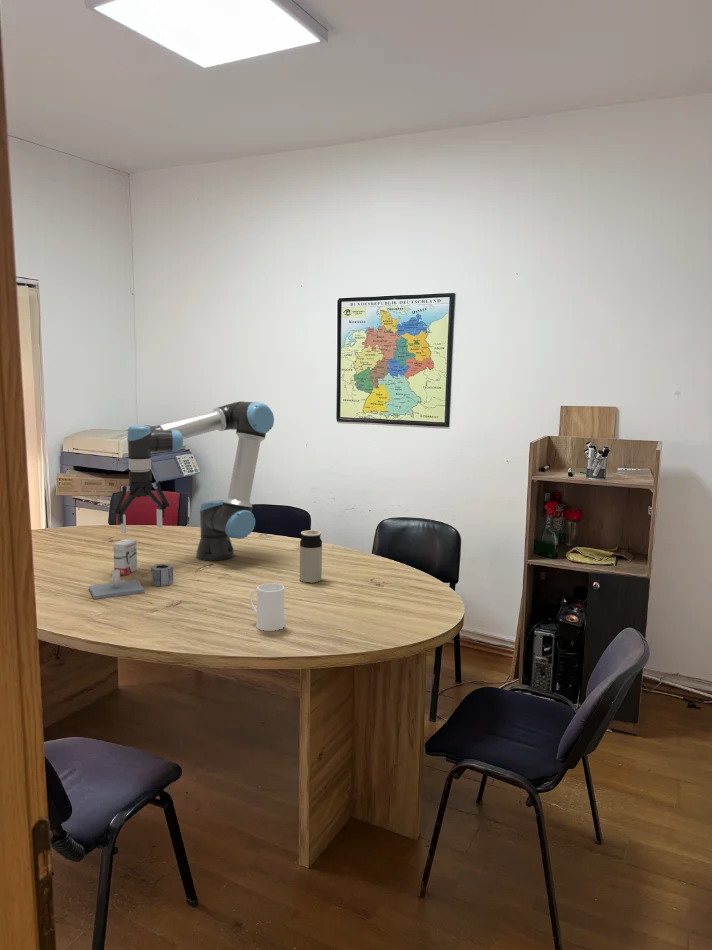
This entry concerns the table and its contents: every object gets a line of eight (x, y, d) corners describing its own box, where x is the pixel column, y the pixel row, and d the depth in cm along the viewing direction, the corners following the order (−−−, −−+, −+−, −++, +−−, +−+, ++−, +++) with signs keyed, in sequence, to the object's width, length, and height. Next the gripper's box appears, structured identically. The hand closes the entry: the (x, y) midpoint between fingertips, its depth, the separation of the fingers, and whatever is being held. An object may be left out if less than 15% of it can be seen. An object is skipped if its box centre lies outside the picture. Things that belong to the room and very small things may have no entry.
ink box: (125, 576, 242) (124, 545, 240) (113, 575, 243) (112, 544, 241) (137, 569, 251) (137, 539, 249) (126, 568, 252) (125, 538, 250)
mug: (242, 624, 197) (242, 585, 196) (261, 616, 204) (261, 579, 202) (271, 633, 191) (272, 593, 189) (290, 625, 198) (291, 586, 196)
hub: (170, 578, 240) (169, 563, 239) (175, 584, 234) (174, 568, 233) (149, 581, 236) (149, 565, 235) (154, 587, 230) (154, 570, 229)
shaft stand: (137, 582, 234) (136, 563, 233) (144, 592, 224) (143, 572, 223) (89, 589, 227) (88, 568, 226) (94, 599, 216) (93, 578, 215)
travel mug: (325, 578, 244) (325, 531, 241) (314, 584, 237) (315, 536, 234) (306, 575, 247) (306, 529, 245) (295, 581, 240) (296, 533, 237)
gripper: (167, 466, 241) (169, 523, 244) (100, 472, 224) (102, 532, 227) (177, 468, 235) (179, 526, 238) (109, 474, 218) (111, 537, 221)
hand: (141, 529), depth 233 cm, fingers open, 13 cm apart
